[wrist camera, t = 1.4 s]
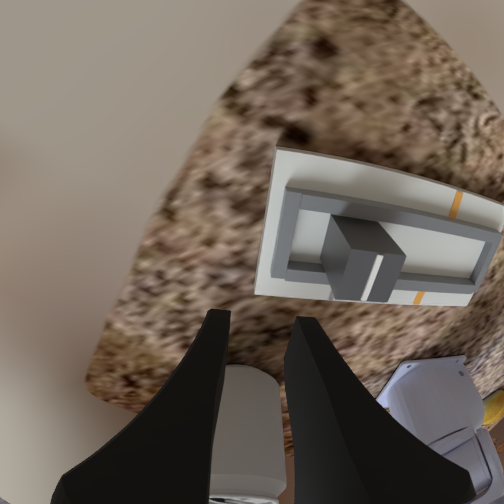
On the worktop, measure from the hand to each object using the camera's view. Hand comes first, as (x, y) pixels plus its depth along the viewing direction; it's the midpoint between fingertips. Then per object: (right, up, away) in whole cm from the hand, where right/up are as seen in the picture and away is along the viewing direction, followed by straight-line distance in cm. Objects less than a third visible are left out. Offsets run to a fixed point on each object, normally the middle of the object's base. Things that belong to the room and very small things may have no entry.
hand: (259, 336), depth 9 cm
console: (+9, +4, +9) cm, 13 cm away
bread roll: (+41, -23, +25) cm, 53 cm away
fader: (+5, +3, +8) cm, 10 cm away
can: (-1, -9, +16) cm, 19 cm away
